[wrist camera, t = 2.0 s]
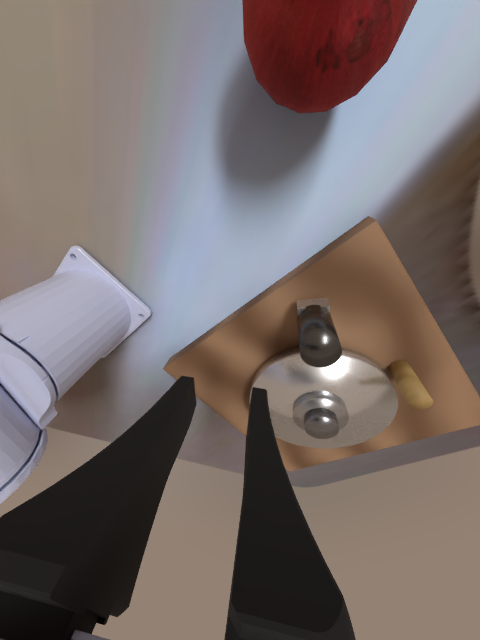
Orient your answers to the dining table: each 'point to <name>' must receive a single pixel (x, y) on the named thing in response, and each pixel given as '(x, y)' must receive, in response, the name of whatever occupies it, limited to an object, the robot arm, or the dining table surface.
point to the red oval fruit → (320, 47)
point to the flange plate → (325, 387)
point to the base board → (353, 332)
